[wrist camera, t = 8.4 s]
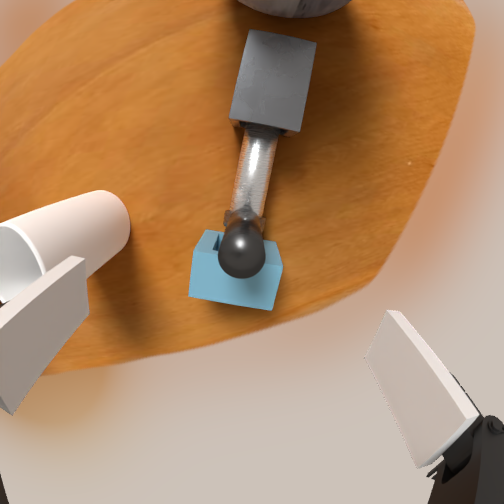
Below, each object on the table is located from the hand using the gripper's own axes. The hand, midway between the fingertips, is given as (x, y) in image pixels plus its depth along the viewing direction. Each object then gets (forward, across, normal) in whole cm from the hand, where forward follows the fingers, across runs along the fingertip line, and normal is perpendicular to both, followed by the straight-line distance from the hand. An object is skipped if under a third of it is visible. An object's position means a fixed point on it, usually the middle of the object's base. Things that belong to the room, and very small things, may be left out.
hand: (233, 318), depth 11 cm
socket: (+20, 0, -4) cm, 21 cm away
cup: (+20, -17, -4) cm, 27 cm away
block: (+20, 0, +14) cm, 24 cm away
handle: (+19, 0, +3) cm, 19 cm away
